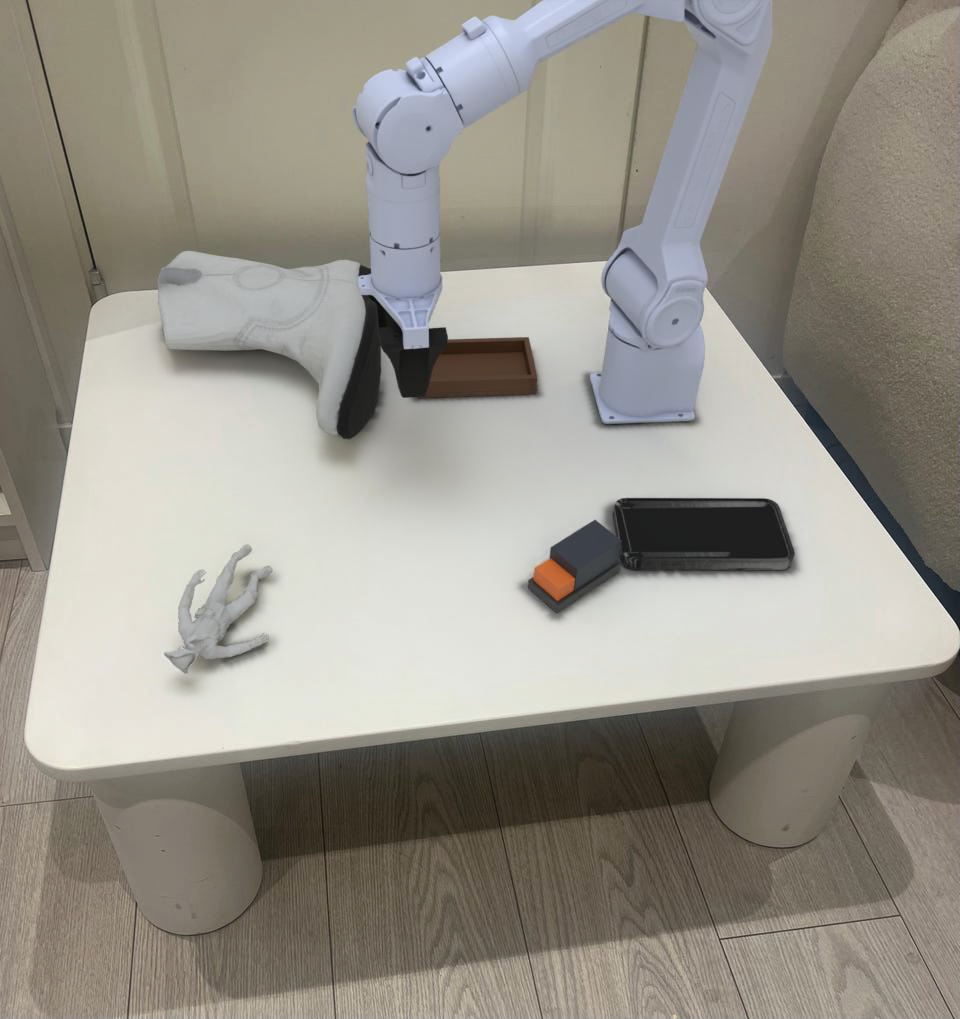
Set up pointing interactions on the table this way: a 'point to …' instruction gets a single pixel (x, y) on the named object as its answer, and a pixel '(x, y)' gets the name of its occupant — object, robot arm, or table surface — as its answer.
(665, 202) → the robot arm
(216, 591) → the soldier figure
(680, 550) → the phone
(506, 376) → the rectangular tray
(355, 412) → the cowboy boot
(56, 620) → the table surface
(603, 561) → the stepped block
